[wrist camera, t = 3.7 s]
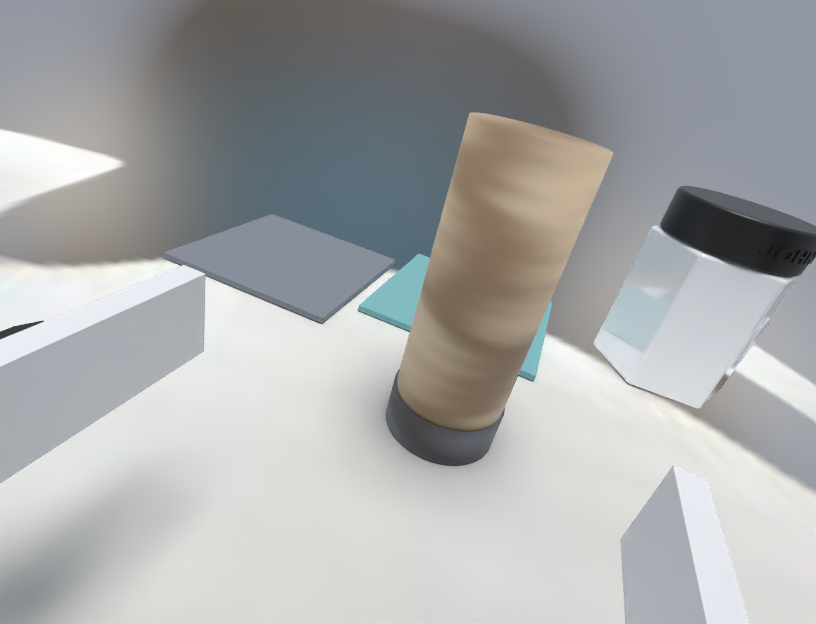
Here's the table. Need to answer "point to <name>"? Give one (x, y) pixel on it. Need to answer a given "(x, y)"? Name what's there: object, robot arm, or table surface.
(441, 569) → the table surface
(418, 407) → the banded sleeve
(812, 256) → the jar
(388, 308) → the teal seat
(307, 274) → the slate seat
